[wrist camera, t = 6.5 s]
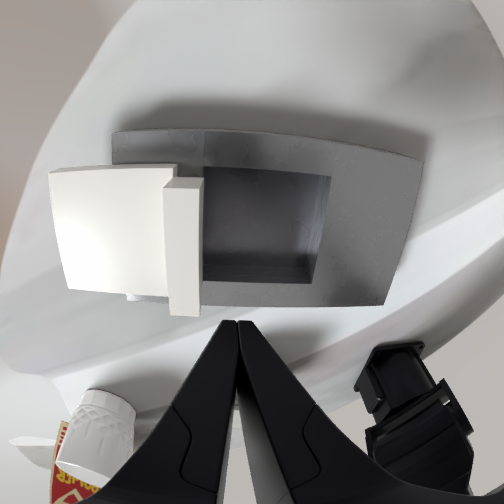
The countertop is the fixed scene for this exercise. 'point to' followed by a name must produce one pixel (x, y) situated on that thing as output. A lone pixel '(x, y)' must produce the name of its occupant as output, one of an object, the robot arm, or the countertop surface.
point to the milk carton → (67, 479)
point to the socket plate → (288, 214)
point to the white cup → (97, 438)
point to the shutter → (131, 231)
